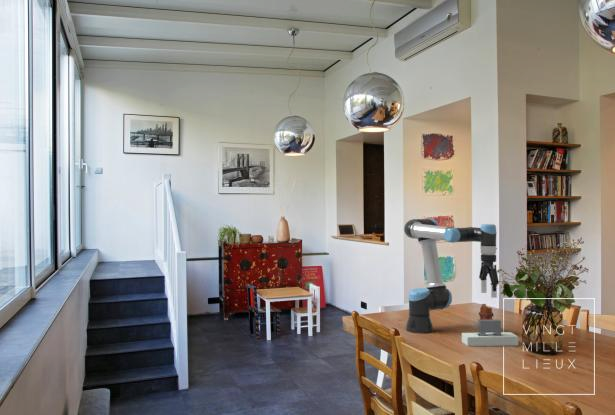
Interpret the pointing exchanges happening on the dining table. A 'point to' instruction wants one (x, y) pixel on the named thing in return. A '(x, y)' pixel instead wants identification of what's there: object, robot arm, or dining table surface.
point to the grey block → (489, 327)
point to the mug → (485, 313)
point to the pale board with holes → (490, 339)
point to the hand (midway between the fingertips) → (488, 295)
